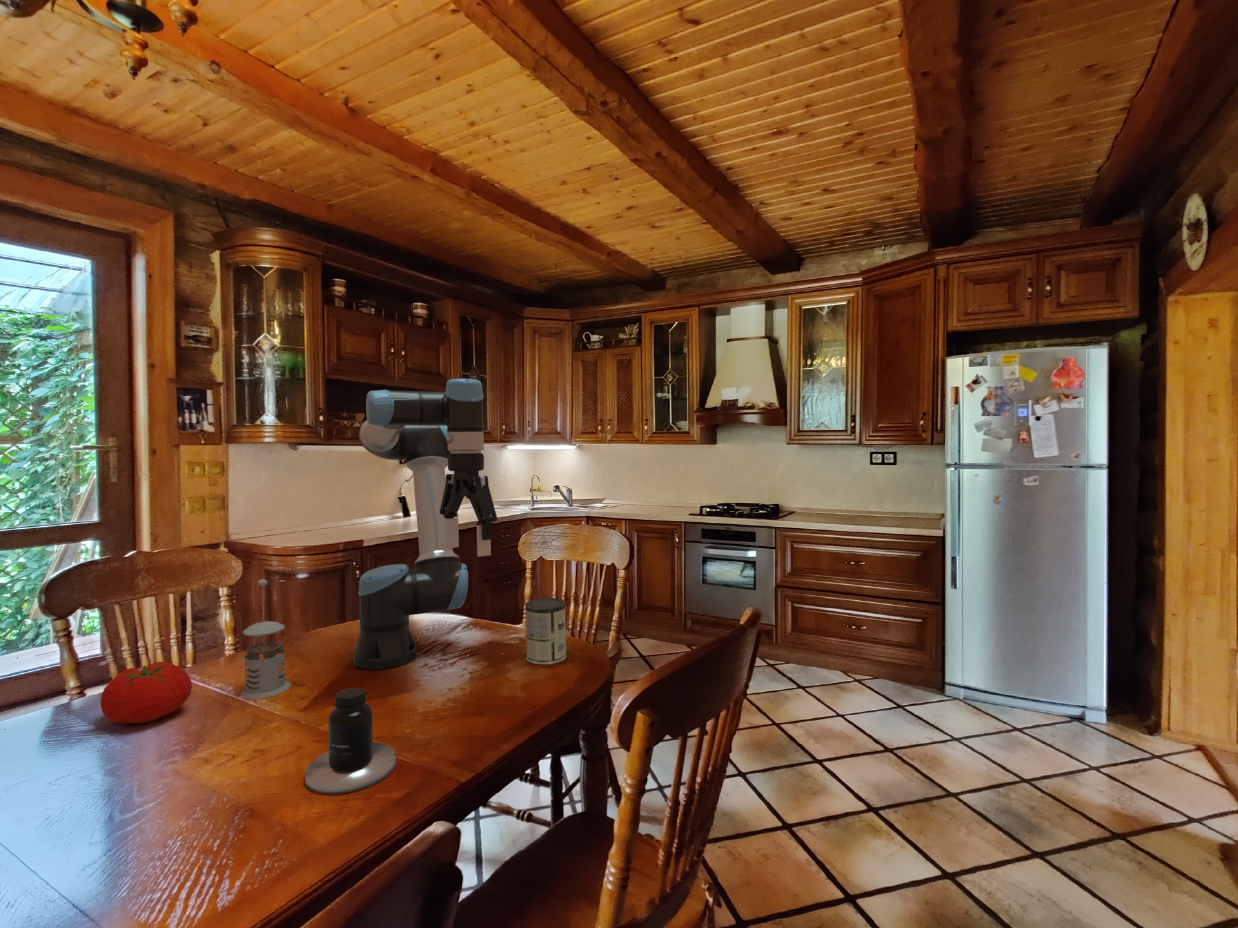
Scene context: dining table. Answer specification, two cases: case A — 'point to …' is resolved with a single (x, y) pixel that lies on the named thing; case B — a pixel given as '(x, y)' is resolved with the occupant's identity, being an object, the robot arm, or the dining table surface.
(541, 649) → the coffee can
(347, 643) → the dining table surface
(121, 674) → the tomato
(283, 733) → the dining table surface
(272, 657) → the french press
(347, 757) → the supplement bottle
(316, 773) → the hub disc
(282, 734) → the dining table surface
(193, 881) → the dining table surface
